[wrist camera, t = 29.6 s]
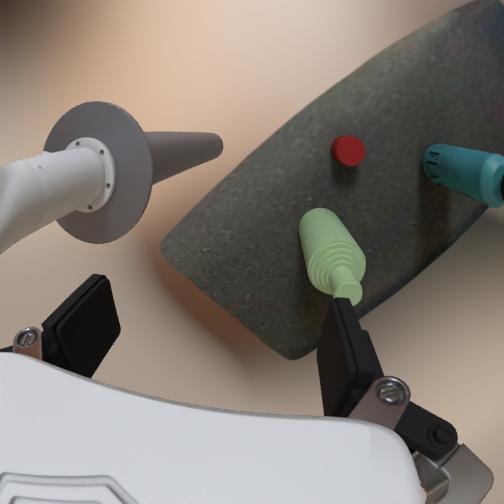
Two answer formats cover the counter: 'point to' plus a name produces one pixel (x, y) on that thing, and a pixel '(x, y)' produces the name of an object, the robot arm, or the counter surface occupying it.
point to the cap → (348, 150)
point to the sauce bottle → (331, 255)
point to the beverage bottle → (467, 172)
